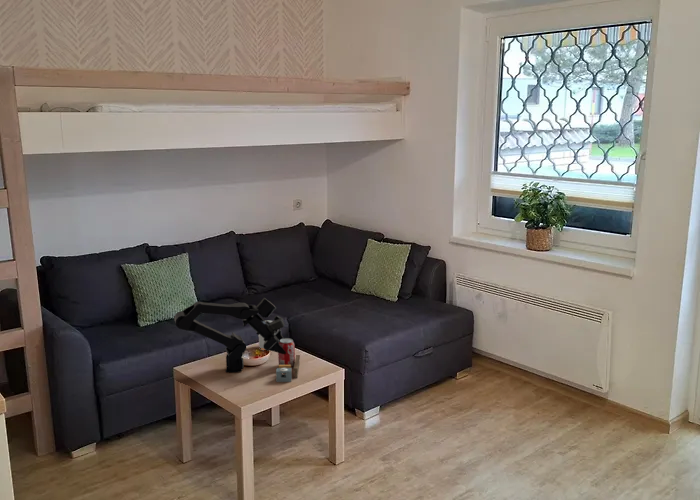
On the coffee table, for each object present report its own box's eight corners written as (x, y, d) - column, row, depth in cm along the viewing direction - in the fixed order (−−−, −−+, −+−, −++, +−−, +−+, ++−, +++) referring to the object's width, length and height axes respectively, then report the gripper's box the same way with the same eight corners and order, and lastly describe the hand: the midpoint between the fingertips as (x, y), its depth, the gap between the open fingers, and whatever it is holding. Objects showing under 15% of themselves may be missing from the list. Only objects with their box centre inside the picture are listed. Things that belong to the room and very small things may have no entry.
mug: (263, 354, 295) (262, 329, 292) (256, 346, 305) (256, 321, 303) (280, 352, 298) (280, 327, 295) (273, 343, 308) (273, 319, 306)
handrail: (293, 378, 270) (293, 368, 269) (296, 364, 284) (296, 354, 283) (297, 378, 270) (297, 368, 269) (299, 364, 284) (299, 354, 283)
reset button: (278, 376, 268) (278, 368, 268) (279, 371, 273) (278, 364, 272) (290, 376, 269) (290, 368, 268) (291, 371, 273) (290, 364, 272)
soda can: (296, 364, 284) (295, 337, 282) (293, 370, 277) (292, 343, 275) (280, 363, 285) (279, 337, 282) (276, 369, 278) (276, 343, 276)
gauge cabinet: (276, 381, 266) (276, 370, 265) (277, 378, 269) (276, 367, 268) (291, 381, 266) (290, 370, 265) (291, 378, 269) (291, 367, 268)
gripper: (270, 319, 267) (298, 344, 269) (274, 305, 285) (300, 329, 288) (252, 338, 268) (279, 363, 271) (257, 323, 287) (283, 346, 289)
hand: (286, 349), depth 280 cm, fingers open, 9 cm apart
